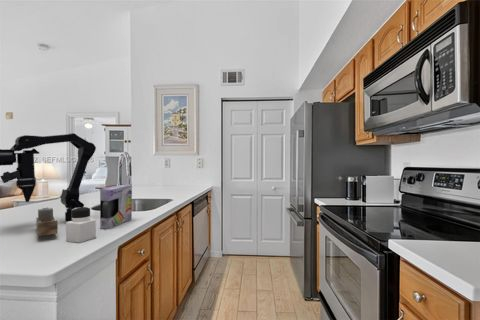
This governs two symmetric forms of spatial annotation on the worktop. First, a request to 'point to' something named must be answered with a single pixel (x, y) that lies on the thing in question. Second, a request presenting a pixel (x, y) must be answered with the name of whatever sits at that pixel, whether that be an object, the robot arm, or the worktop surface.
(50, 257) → the worktop surface
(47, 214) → the grey block
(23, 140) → the robot arm
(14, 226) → the worktop surface
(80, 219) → the medicine bottle
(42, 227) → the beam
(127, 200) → the cake pan box
